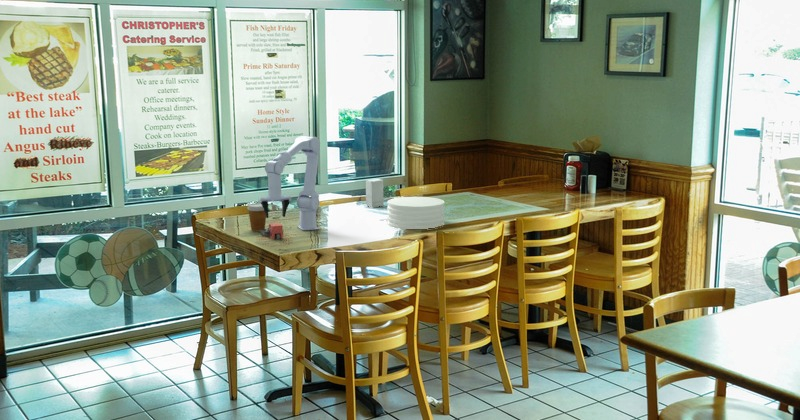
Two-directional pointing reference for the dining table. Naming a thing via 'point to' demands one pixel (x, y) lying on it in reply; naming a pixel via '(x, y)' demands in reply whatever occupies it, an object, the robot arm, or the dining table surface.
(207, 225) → the dining table surface
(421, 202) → the plate stack
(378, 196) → the skincare box
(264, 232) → the lip
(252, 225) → the disposable coffee cup
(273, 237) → the block
